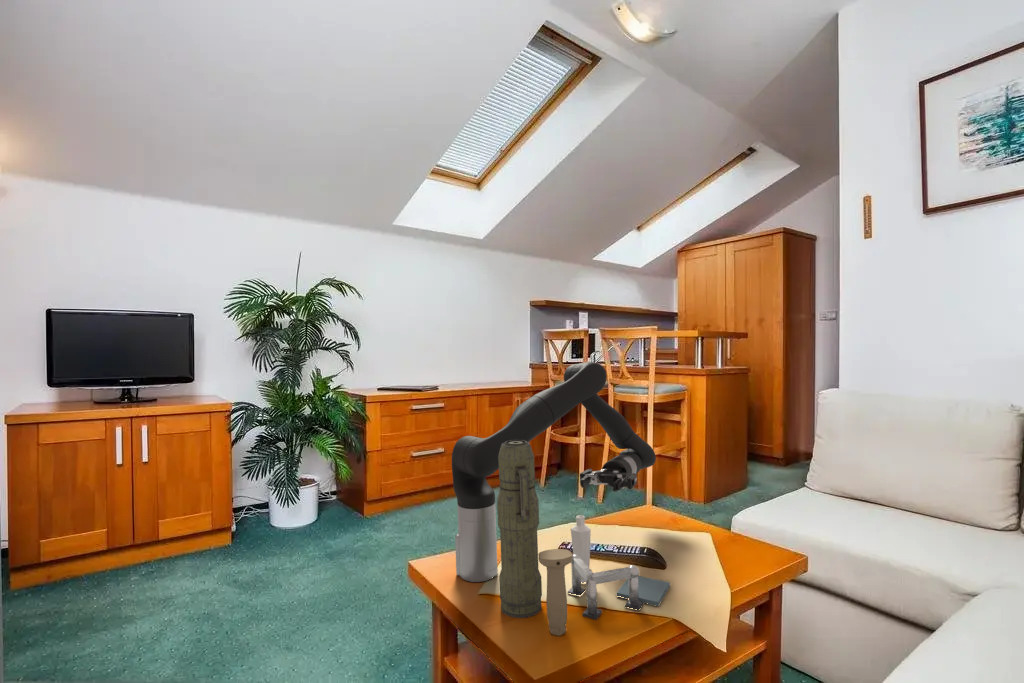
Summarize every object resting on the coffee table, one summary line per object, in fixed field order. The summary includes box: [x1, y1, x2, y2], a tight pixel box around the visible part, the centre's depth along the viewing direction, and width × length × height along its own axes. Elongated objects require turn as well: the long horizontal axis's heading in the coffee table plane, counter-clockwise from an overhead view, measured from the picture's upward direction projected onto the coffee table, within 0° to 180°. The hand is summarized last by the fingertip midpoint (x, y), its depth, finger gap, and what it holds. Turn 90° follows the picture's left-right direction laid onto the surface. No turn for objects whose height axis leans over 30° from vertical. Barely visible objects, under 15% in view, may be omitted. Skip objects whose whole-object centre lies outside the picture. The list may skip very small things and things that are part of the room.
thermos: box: [496, 440, 543, 619], centre depth 110 cm, size 9×12×35 cm
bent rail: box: [567, 553, 644, 621], centre depth 109 cm, size 16×10×8 cm, turn 59°
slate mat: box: [616, 575, 671, 607], centre depth 115 cm, size 9×10×1 cm
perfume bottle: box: [570, 514, 592, 583], centre depth 121 cm, size 5×4×15 cm
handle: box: [538, 548, 573, 637], centre depth 100 cm, size 5×6×15 cm
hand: (598, 485), depth 130 cm, fingers open, 8 cm apart
